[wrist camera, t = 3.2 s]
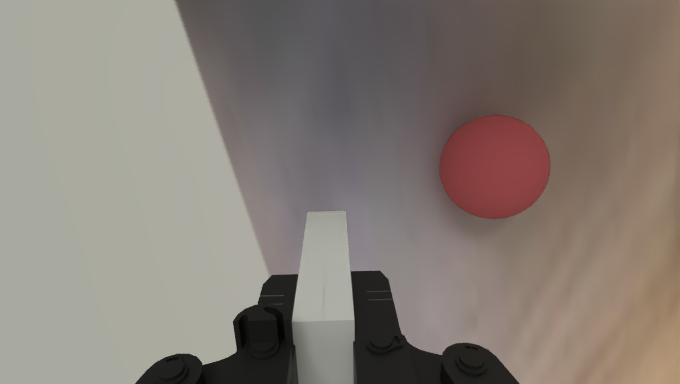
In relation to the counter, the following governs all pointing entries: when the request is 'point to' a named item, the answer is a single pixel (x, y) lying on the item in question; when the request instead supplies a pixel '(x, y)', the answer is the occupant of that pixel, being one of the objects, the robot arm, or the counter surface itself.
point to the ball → (494, 167)
